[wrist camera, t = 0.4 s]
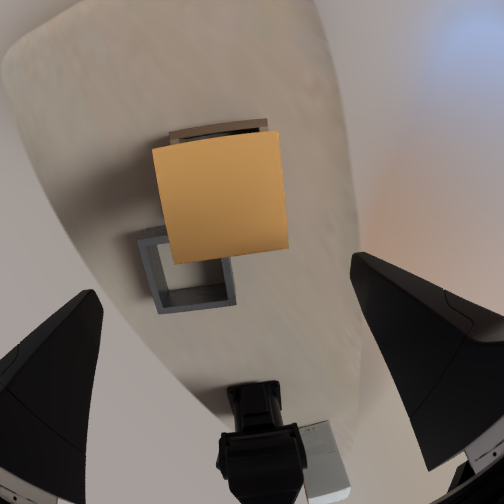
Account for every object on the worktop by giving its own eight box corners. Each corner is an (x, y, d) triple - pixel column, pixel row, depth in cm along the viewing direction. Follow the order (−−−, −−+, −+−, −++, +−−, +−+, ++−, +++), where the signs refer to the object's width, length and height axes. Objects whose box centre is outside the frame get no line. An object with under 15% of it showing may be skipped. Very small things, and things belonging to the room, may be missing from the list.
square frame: (270, 202, 23) (276, 211, 21) (188, 214, 23) (184, 224, 20) (261, 121, 21) (266, 118, 18) (175, 133, 20) (168, 132, 18)
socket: (235, 287, 26) (236, 305, 23) (164, 296, 26) (158, 314, 23) (223, 216, 23) (223, 226, 21) (146, 228, 23) (136, 240, 20)
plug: (254, 190, 23) (288, 248, 11) (200, 198, 23) (174, 264, 11) (248, 137, 21) (278, 130, 9) (192, 145, 21) (151, 149, 9)
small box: (290, 429, 37) (306, 499, 25) (329, 419, 37) (352, 486, 25) (295, 448, 40) (309, 509, 28) (329, 439, 40) (348, 498, 28)
